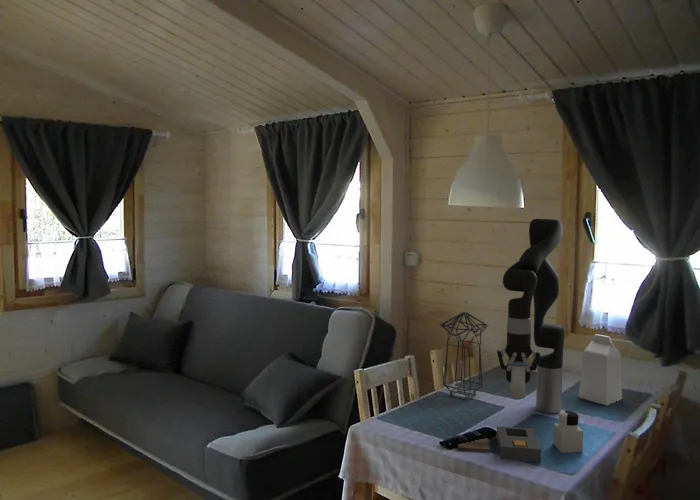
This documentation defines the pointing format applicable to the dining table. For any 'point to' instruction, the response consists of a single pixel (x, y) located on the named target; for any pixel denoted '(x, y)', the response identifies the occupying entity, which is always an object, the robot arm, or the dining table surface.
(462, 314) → the geometric lantern
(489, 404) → the dining table surface
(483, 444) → the walnut pad
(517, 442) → the orange cardboard box
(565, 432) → the medicine bottle
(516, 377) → the cylinder
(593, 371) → the milk
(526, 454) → the block
